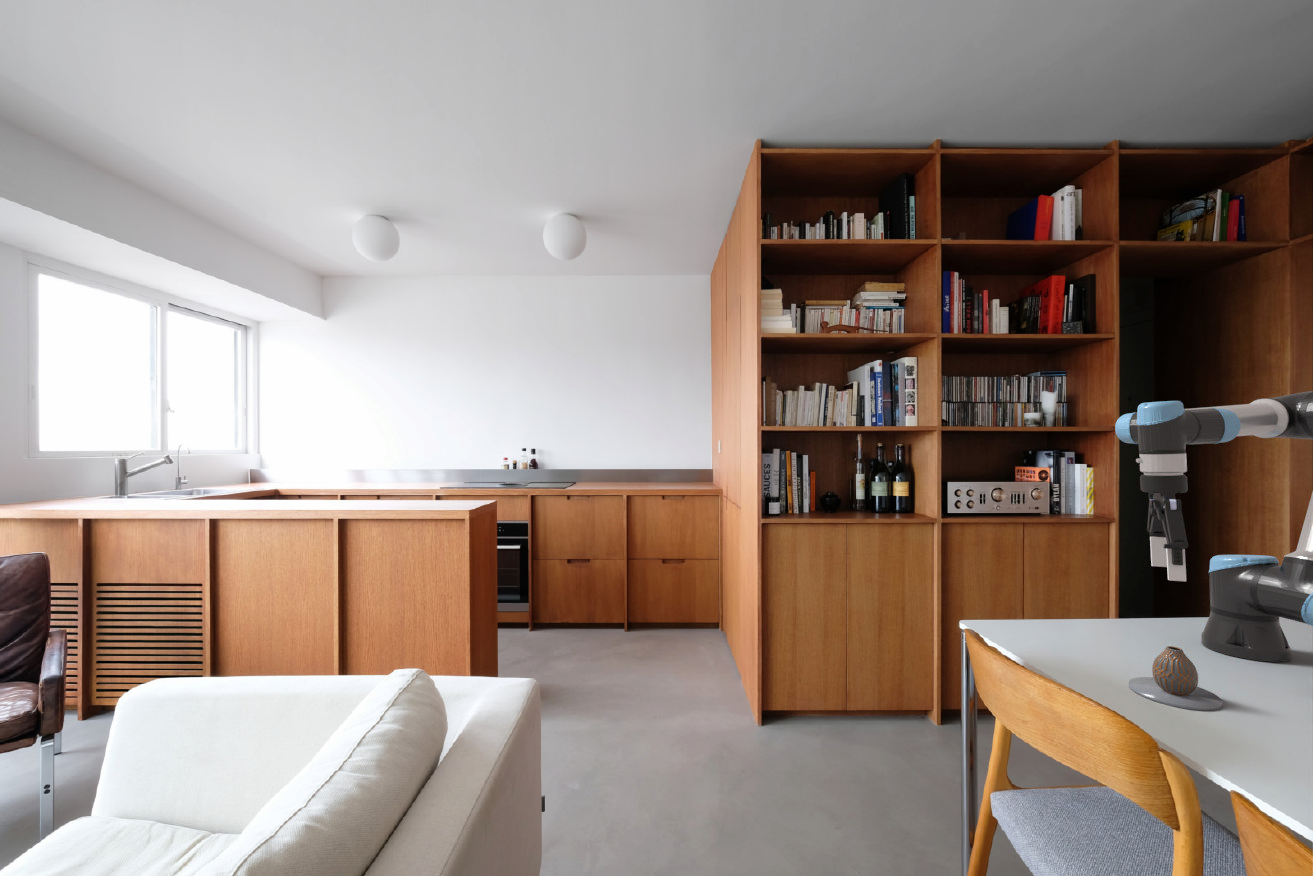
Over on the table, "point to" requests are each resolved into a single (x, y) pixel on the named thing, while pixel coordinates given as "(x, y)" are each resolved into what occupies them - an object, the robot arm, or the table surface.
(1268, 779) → the table surface
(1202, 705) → the disc
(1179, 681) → the vase
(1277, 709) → the table surface
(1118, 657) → the table surface
